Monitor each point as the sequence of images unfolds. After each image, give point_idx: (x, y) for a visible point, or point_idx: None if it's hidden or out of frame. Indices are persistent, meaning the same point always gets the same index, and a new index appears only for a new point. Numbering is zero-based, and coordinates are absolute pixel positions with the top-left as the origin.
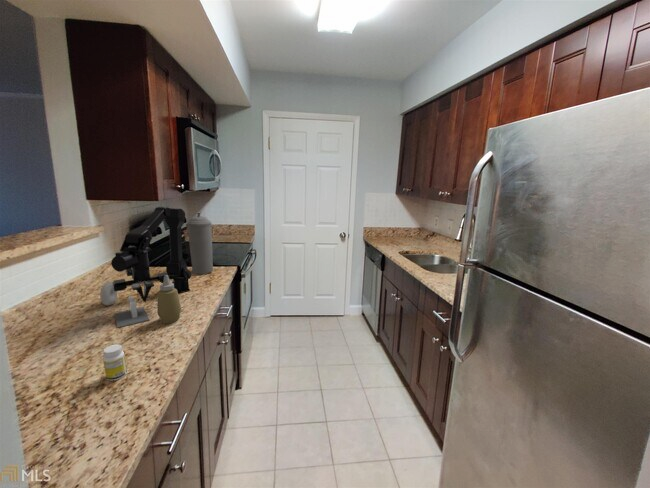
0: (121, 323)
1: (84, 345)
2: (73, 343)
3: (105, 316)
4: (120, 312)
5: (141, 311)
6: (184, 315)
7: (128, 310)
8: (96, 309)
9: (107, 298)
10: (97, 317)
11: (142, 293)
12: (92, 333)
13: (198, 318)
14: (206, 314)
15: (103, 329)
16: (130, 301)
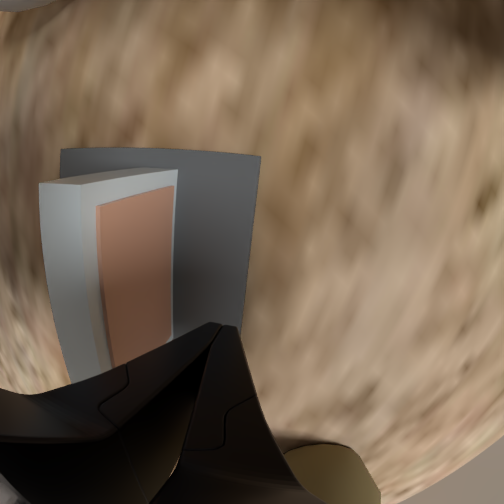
0: None
1: (31, 389)
2: (3, 351)
3: (34, 154)
4: (88, 159)
5: (216, 261)
6: (392, 456)
7: (136, 153)
8: (36, 15)
9: (16, 2)
10: (12, 144)
11: (156, 484)
12: (21, 330)
13: (400, 489)
14: (441, 475)
15: (42, 329)
16: (69, 368)
